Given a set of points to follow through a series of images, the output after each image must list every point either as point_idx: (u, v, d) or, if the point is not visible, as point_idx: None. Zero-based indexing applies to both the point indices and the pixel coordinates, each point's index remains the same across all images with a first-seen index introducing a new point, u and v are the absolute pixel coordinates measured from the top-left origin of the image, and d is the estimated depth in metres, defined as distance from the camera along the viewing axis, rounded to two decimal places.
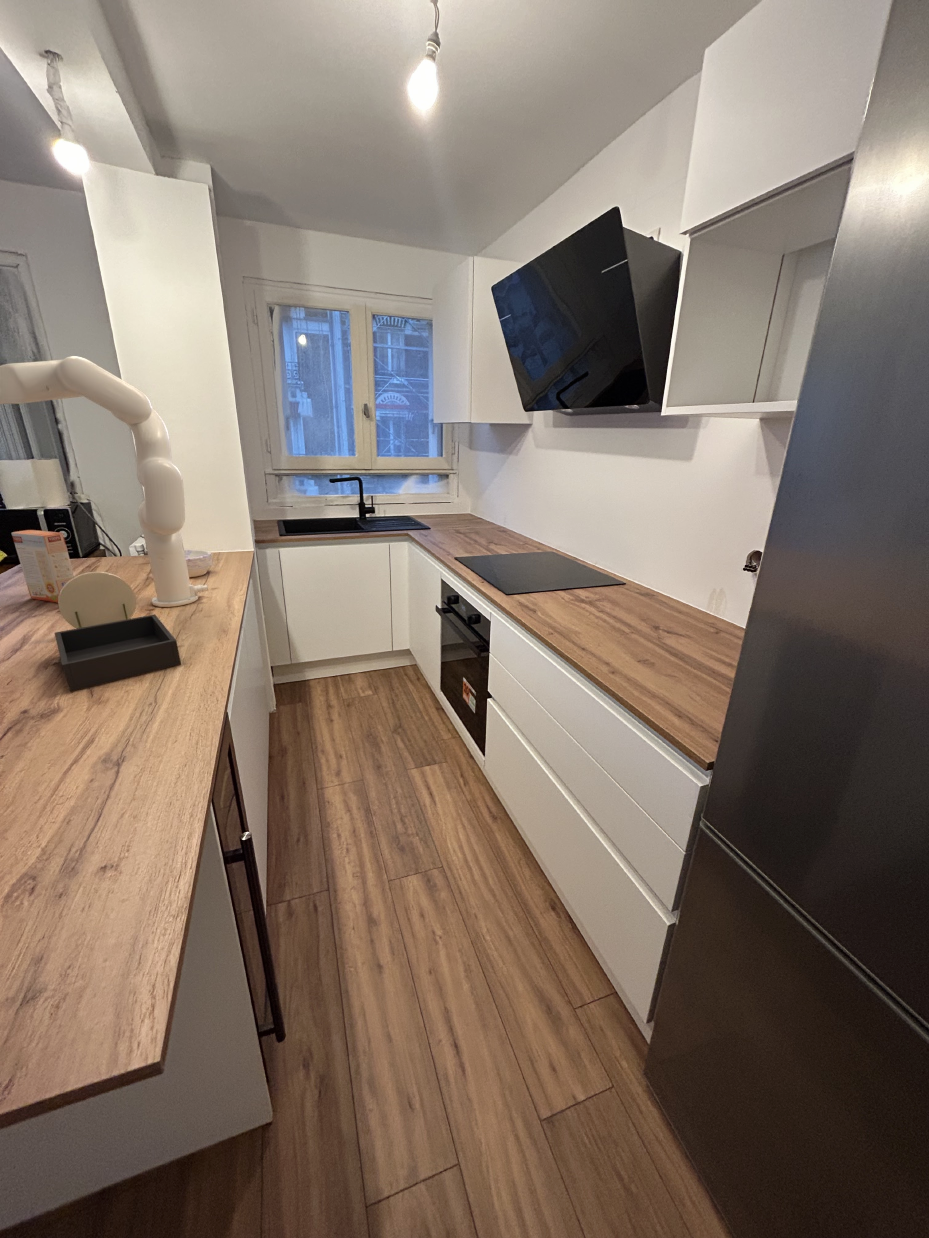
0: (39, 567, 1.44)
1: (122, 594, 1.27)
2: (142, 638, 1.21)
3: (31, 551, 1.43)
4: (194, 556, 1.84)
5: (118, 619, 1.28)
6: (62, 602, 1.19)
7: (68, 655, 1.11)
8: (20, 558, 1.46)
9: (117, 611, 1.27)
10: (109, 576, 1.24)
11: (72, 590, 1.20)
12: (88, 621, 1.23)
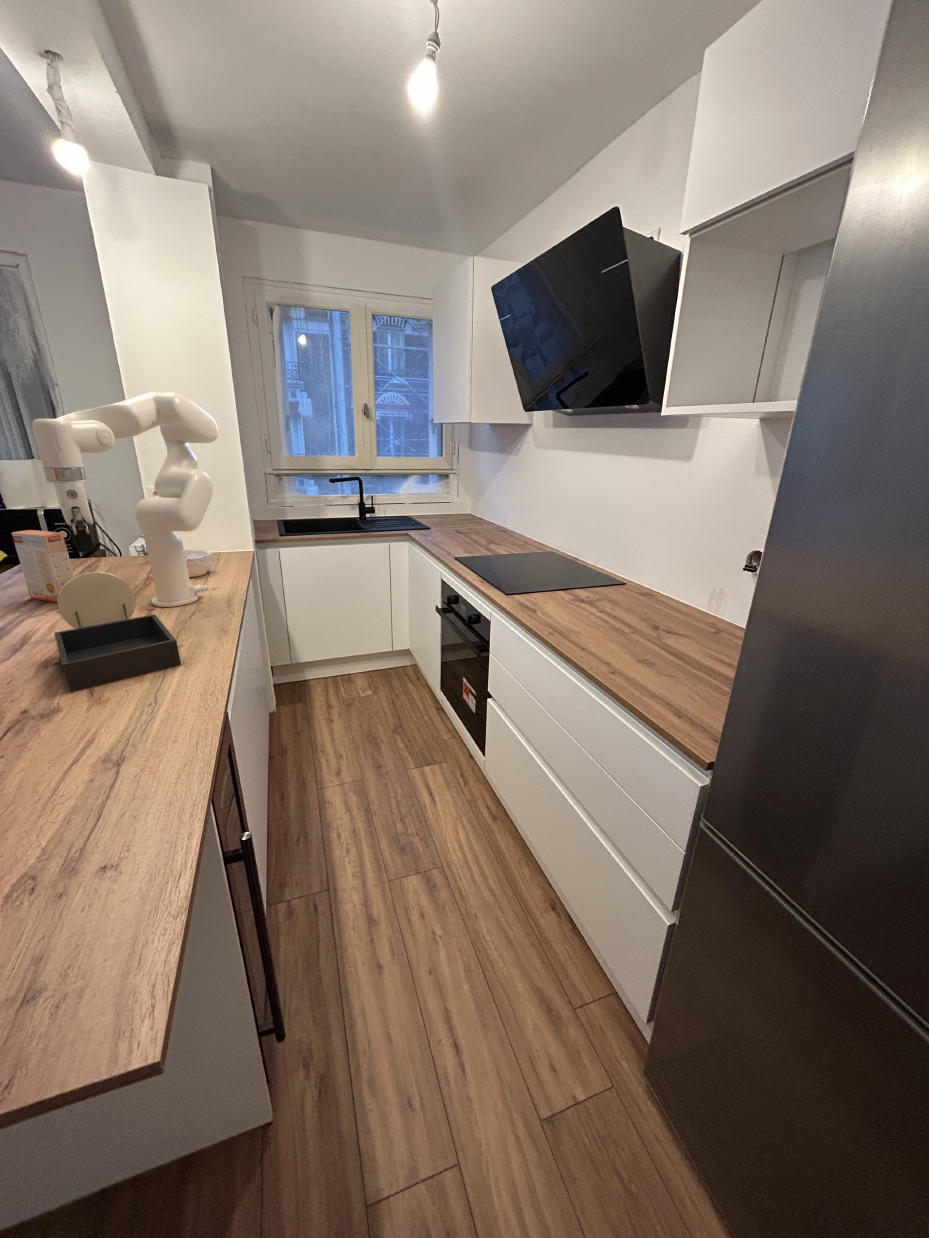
0: (39, 567, 1.44)
1: (121, 594, 1.27)
2: (142, 638, 1.21)
3: (31, 551, 1.43)
4: (194, 556, 1.84)
5: (118, 619, 1.28)
6: (61, 603, 1.19)
7: (68, 655, 1.11)
8: (20, 558, 1.46)
9: (116, 611, 1.27)
10: (108, 576, 1.24)
11: (71, 590, 1.19)
12: (88, 621, 1.23)
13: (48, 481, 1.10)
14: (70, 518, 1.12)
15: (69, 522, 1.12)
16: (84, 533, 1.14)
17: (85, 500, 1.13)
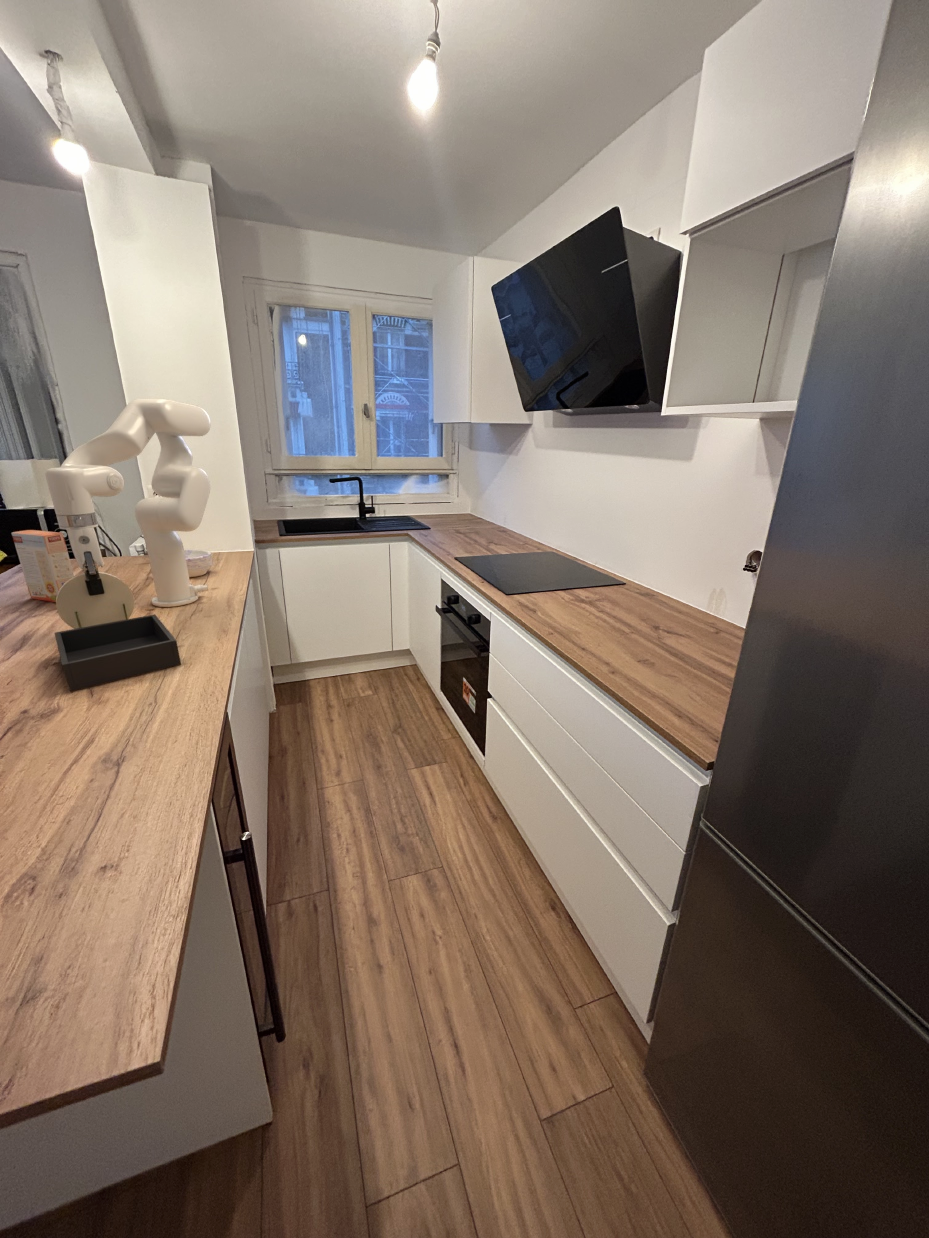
0: (39, 567, 1.44)
1: (120, 593, 1.26)
2: (142, 638, 1.21)
3: (31, 551, 1.43)
4: (194, 556, 1.84)
5: (117, 619, 1.27)
6: (60, 604, 1.19)
7: (68, 655, 1.11)
8: (20, 558, 1.46)
9: (115, 611, 1.27)
10: (105, 576, 1.23)
11: (69, 591, 1.19)
12: (87, 622, 1.23)
13: (61, 527, 1.14)
14: (82, 562, 1.16)
15: (81, 566, 1.16)
16: None
17: (97, 545, 1.17)
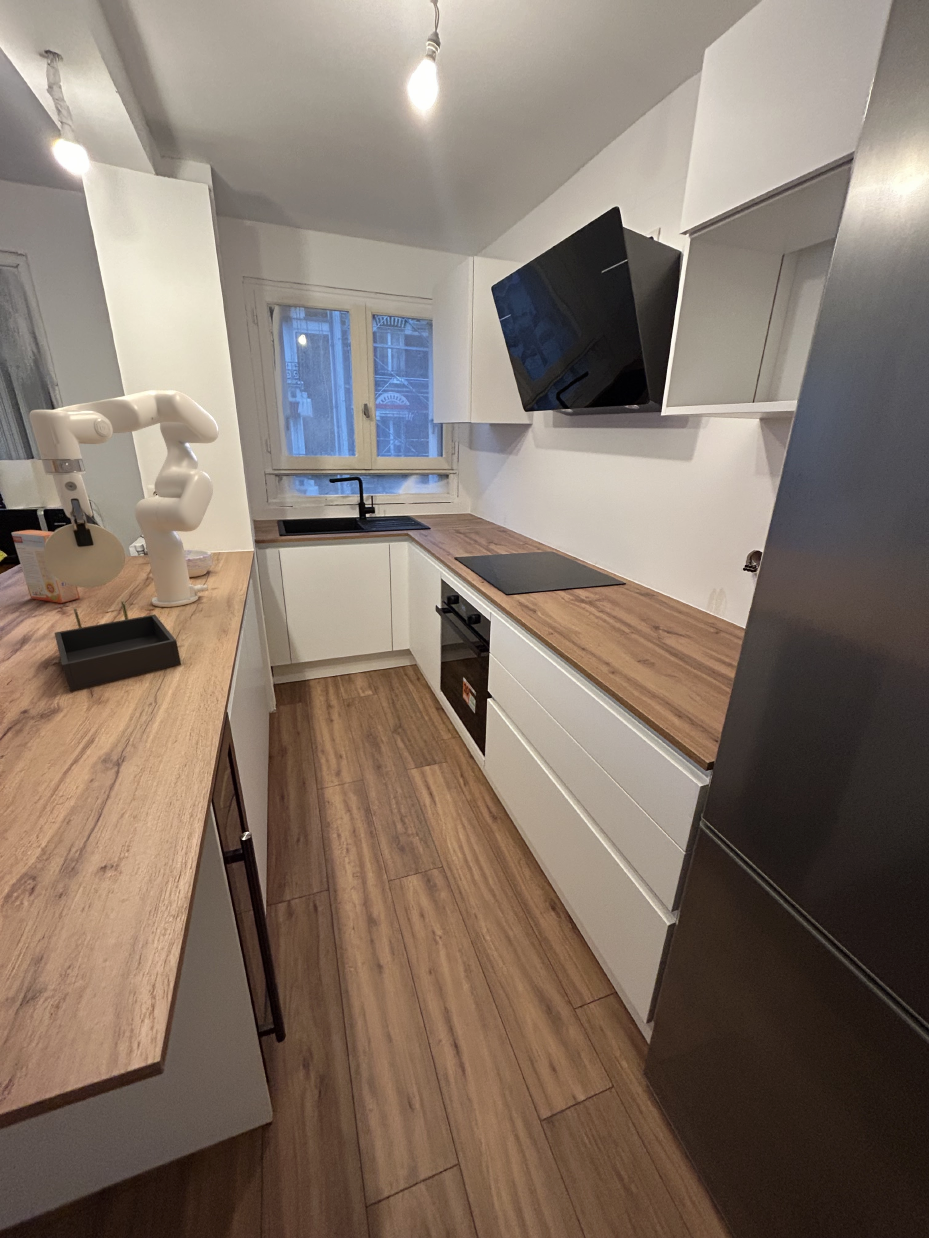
0: (39, 567, 1.44)
1: (110, 547, 1.22)
2: (142, 638, 1.21)
3: (31, 551, 1.43)
4: (194, 556, 1.84)
5: (108, 573, 1.24)
6: (47, 555, 1.15)
7: (68, 655, 1.11)
8: (20, 558, 1.46)
9: (105, 565, 1.23)
10: (95, 527, 1.19)
11: (57, 542, 1.15)
12: (76, 575, 1.20)
13: (47, 473, 1.10)
14: (70, 510, 1.12)
15: (69, 514, 1.12)
16: (84, 530, 1.17)
17: (84, 492, 1.13)
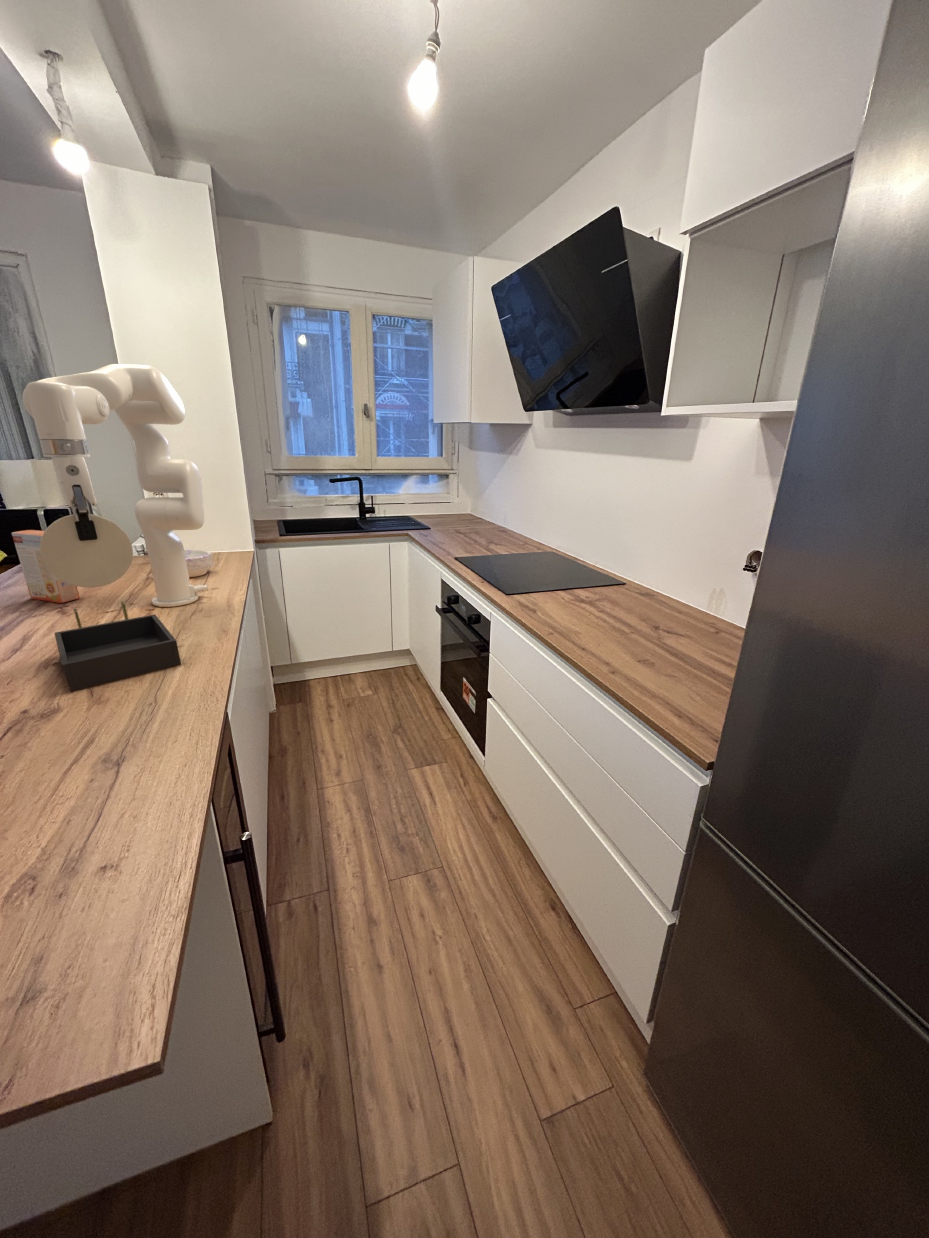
0: (39, 567, 1.44)
1: (116, 541, 1.08)
2: (142, 638, 1.21)
3: (31, 551, 1.43)
4: (194, 556, 1.84)
5: (113, 571, 1.09)
6: (44, 549, 1.00)
7: (68, 655, 1.11)
8: (20, 558, 1.46)
9: (110, 562, 1.08)
10: (99, 519, 1.05)
11: (56, 535, 1.01)
12: (77, 573, 1.05)
13: (46, 455, 0.96)
14: (71, 498, 0.97)
15: (69, 503, 0.98)
16: (87, 521, 1.02)
17: (88, 477, 0.99)
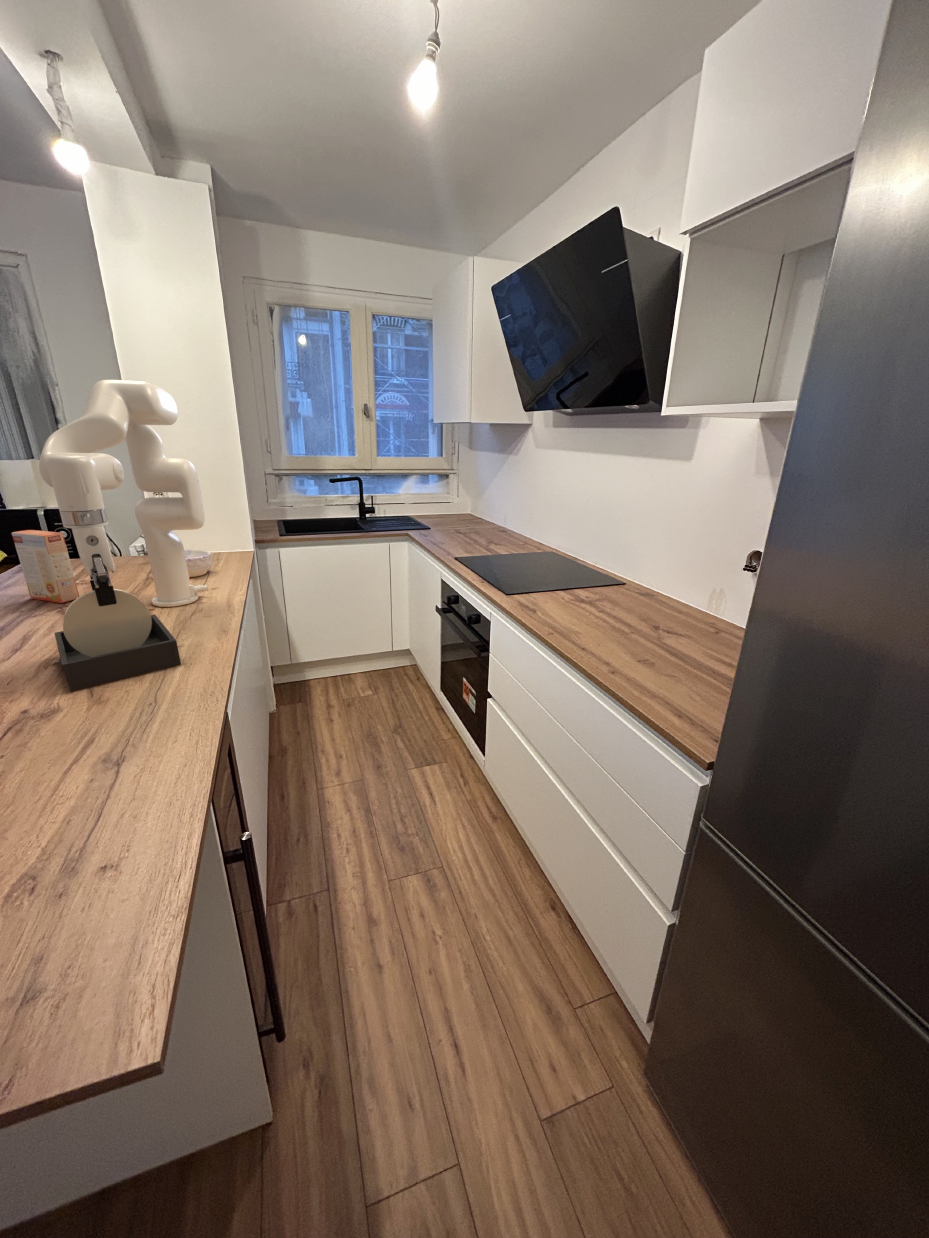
0: (39, 567, 1.44)
1: (135, 613, 1.10)
2: None
3: (31, 551, 1.43)
4: (194, 556, 1.84)
5: (132, 641, 1.11)
6: (67, 626, 1.02)
7: (68, 655, 1.11)
8: (20, 558, 1.46)
9: (130, 633, 1.10)
10: (119, 593, 1.07)
11: (78, 612, 1.03)
12: (98, 646, 1.07)
13: (66, 525, 0.97)
14: (90, 567, 0.99)
15: (89, 572, 0.99)
16: (106, 586, 1.01)
17: (107, 546, 1.00)
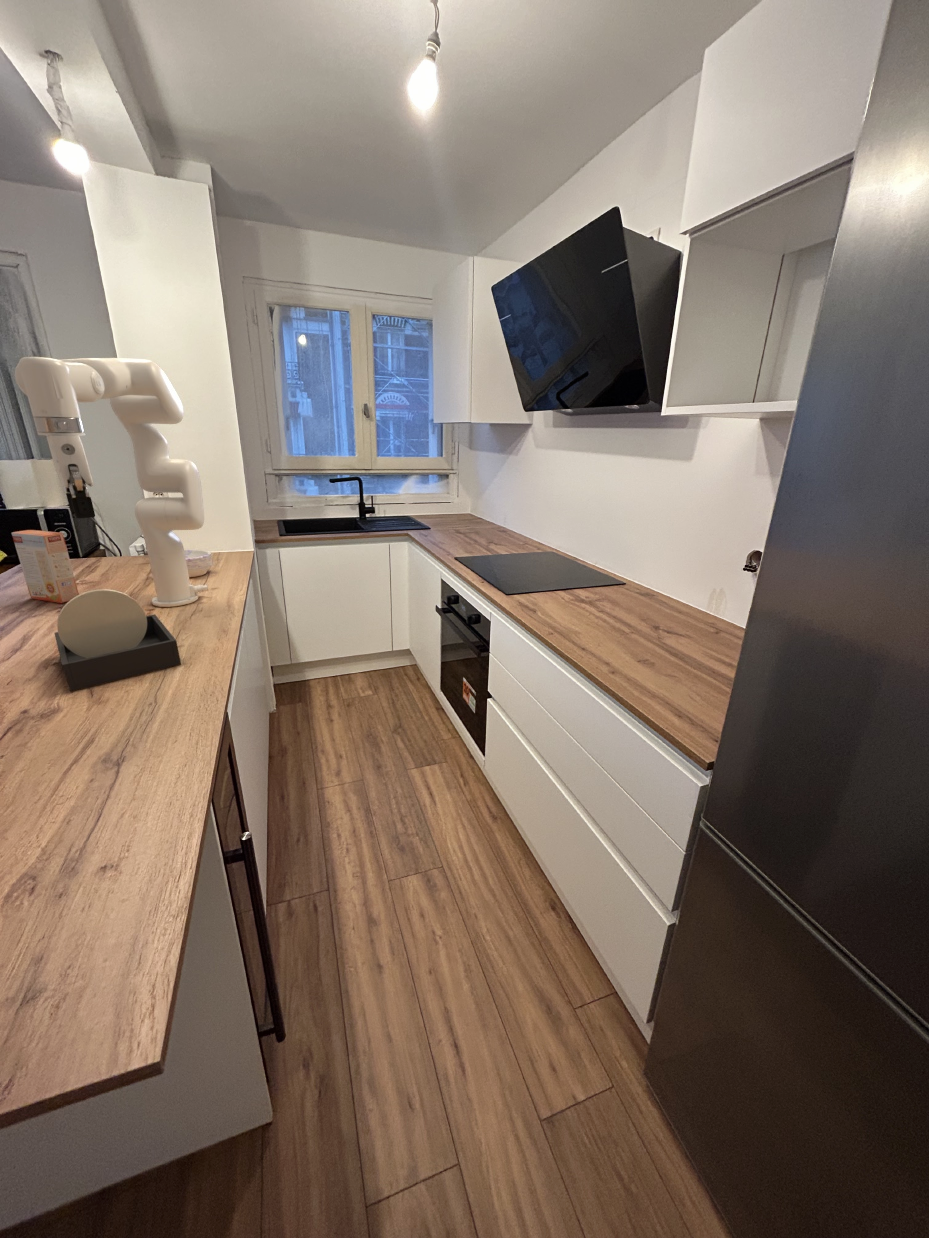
0: (39, 567, 1.44)
1: (129, 611, 1.09)
2: None
3: (31, 551, 1.43)
4: (194, 556, 1.84)
5: (130, 640, 1.11)
6: (62, 631, 1.02)
7: (68, 655, 1.11)
8: (20, 558, 1.46)
9: (127, 632, 1.10)
10: (109, 593, 1.06)
11: (70, 615, 1.02)
12: (96, 647, 1.07)
13: (40, 433, 0.94)
14: (67, 478, 0.96)
15: (66, 482, 0.96)
16: (83, 496, 0.97)
17: (84, 457, 0.97)
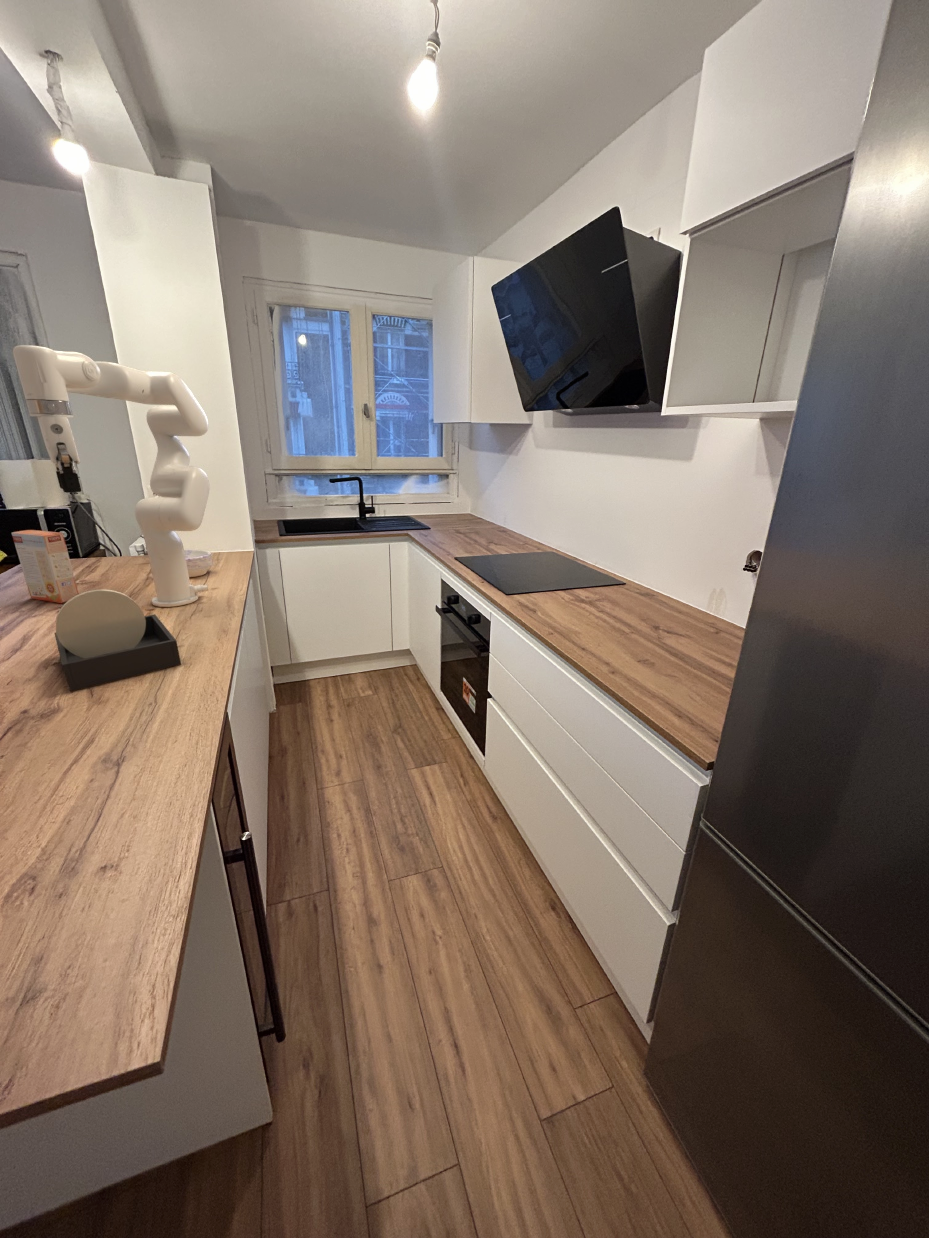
0: (39, 567, 1.44)
1: (127, 611, 1.09)
2: (142, 638, 1.21)
3: (31, 551, 1.43)
4: (194, 556, 1.84)
5: (129, 639, 1.11)
6: (61, 632, 1.02)
7: (68, 655, 1.11)
8: (20, 558, 1.46)
9: (125, 631, 1.10)
10: (106, 593, 1.05)
11: (68, 617, 1.02)
12: (96, 648, 1.07)
13: (32, 414, 1.04)
14: (55, 455, 1.05)
15: (54, 459, 1.06)
16: (70, 472, 1.07)
17: (71, 436, 1.06)
